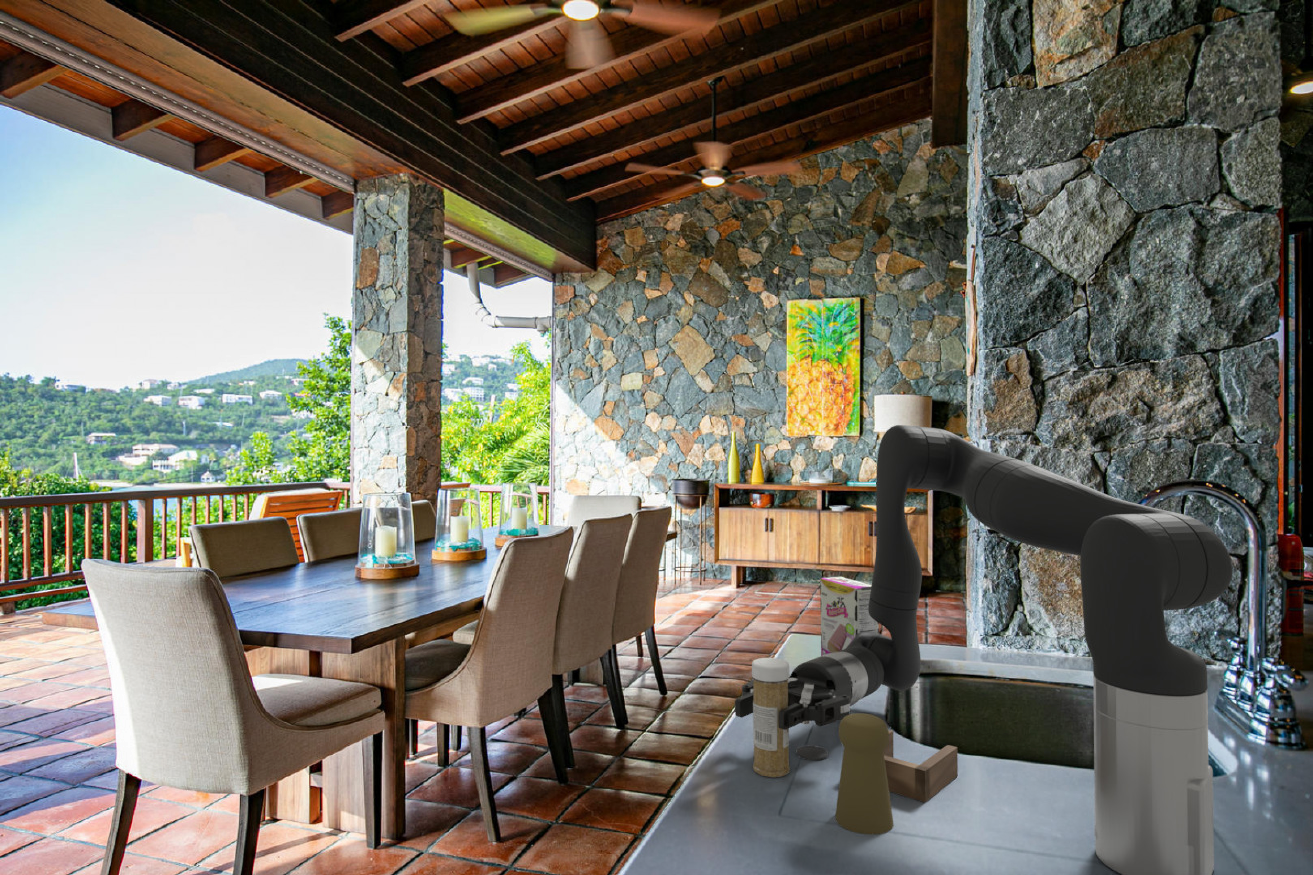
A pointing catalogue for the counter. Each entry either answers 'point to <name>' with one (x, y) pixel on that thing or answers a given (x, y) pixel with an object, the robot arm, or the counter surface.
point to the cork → (864, 776)
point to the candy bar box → (843, 612)
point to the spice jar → (770, 717)
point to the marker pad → (812, 752)
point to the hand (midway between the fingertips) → (759, 714)
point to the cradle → (920, 773)
